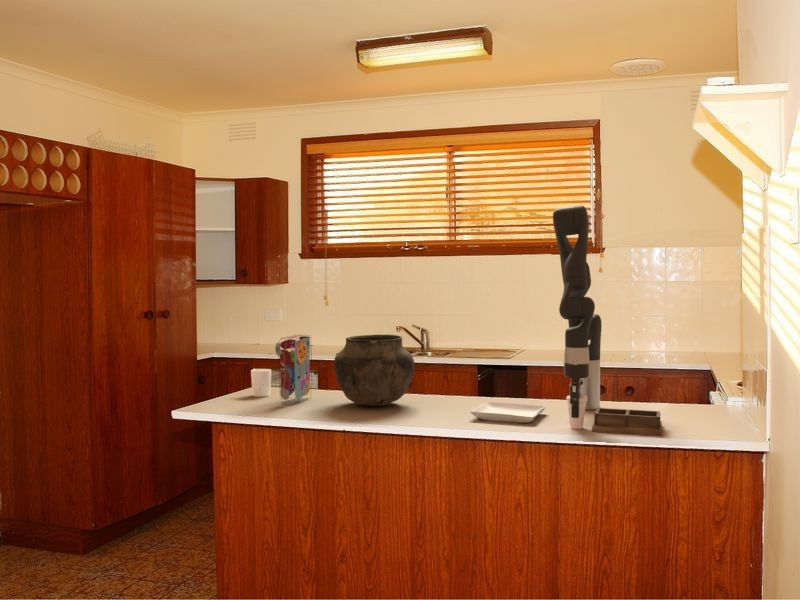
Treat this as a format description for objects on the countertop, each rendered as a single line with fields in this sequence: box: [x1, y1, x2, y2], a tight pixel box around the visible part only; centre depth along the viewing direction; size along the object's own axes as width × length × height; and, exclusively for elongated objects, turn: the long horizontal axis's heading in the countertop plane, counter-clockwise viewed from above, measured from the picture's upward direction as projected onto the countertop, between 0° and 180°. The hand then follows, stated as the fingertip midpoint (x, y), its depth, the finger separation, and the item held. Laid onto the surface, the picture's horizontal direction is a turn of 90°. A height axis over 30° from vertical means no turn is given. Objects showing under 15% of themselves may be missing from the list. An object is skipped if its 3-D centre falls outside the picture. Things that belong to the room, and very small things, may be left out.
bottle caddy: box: [591, 407, 663, 437], centre depth 231 cm, size 15×20×5 cm
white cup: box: [250, 368, 272, 398], centre depth 294 cm, size 8×8×10 cm
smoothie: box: [565, 394, 587, 430], centre depth 232 cm, size 6×6×14 cm
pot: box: [333, 334, 415, 407], centre depth 271 cm, size 29×32×25 cm
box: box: [274, 334, 313, 406], centre depth 277 cm, size 25×6×24 cm, turn 163°
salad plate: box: [469, 401, 547, 424], centre depth 250 cm, size 21×21×3 cm
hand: (576, 415), depth 232 cm, fingers closed on smoothie, 6 cm apart
